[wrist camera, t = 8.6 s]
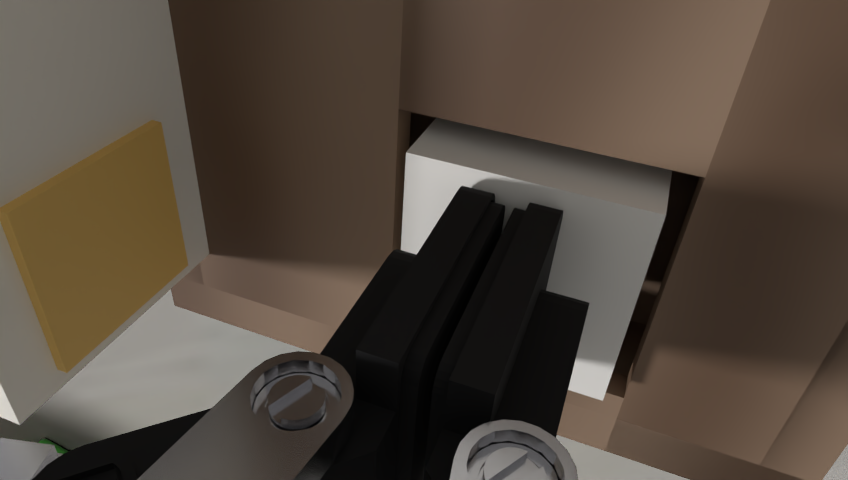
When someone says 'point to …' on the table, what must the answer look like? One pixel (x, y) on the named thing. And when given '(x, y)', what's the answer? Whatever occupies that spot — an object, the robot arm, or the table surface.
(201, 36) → the button board
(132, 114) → the card
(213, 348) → the table surface
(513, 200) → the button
